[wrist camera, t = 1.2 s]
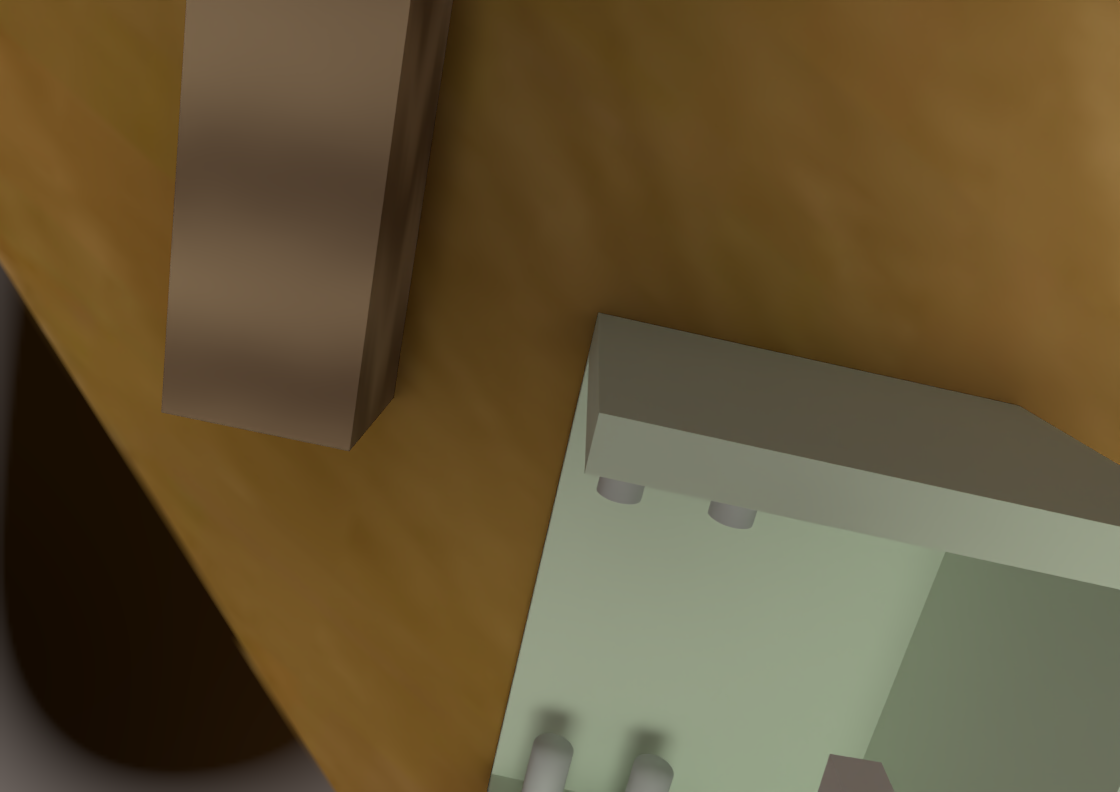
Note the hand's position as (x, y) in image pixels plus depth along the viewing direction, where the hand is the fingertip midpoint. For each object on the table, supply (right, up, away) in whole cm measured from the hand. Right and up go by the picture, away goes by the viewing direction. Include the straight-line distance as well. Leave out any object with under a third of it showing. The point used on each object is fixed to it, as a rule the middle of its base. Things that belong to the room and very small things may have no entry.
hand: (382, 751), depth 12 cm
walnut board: (-5, +13, +17) cm, 22 cm away
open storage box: (+10, -4, +21) cm, 23 cm away
